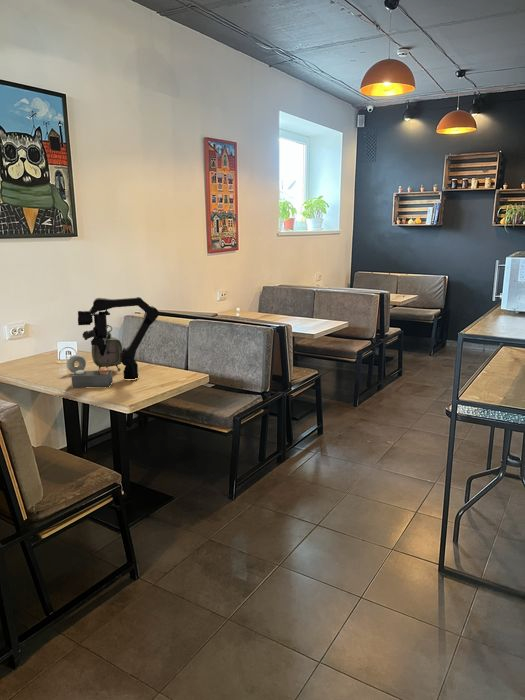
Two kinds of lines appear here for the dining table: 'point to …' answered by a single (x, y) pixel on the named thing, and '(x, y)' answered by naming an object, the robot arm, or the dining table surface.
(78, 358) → the donut
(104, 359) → the tabletop clock
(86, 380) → the press block
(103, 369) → the terracotta plunger
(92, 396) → the dining table surface
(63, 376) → the dining table surface
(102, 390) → the dining table surface
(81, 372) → the plunger
